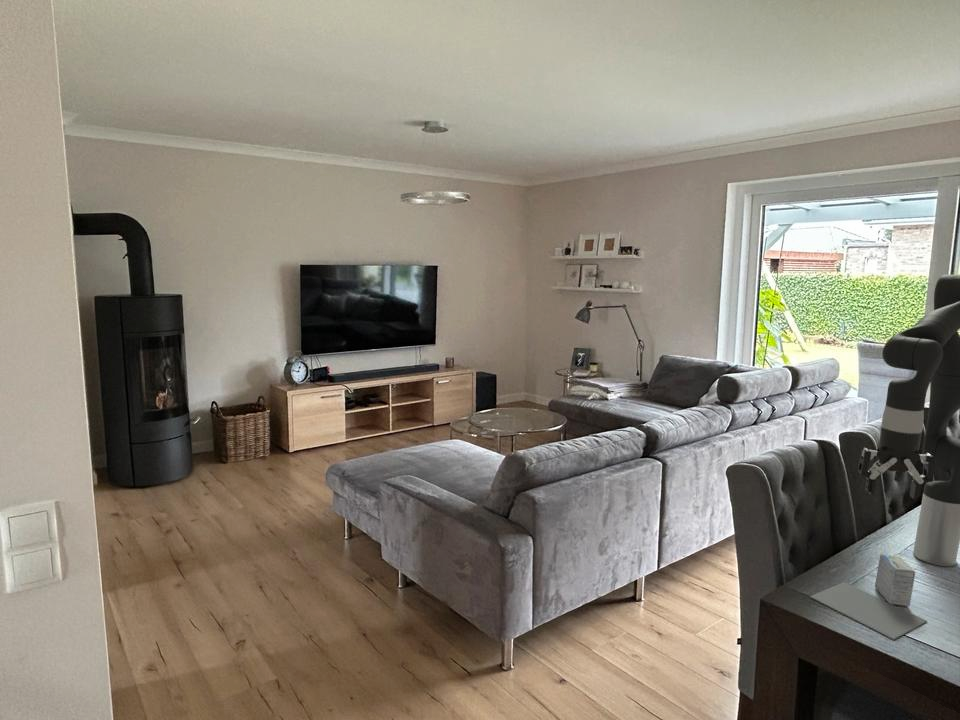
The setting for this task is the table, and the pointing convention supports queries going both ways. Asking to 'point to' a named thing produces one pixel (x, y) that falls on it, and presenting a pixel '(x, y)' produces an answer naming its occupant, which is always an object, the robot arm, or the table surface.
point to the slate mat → (869, 610)
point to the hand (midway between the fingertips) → (891, 495)
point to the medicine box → (895, 580)
